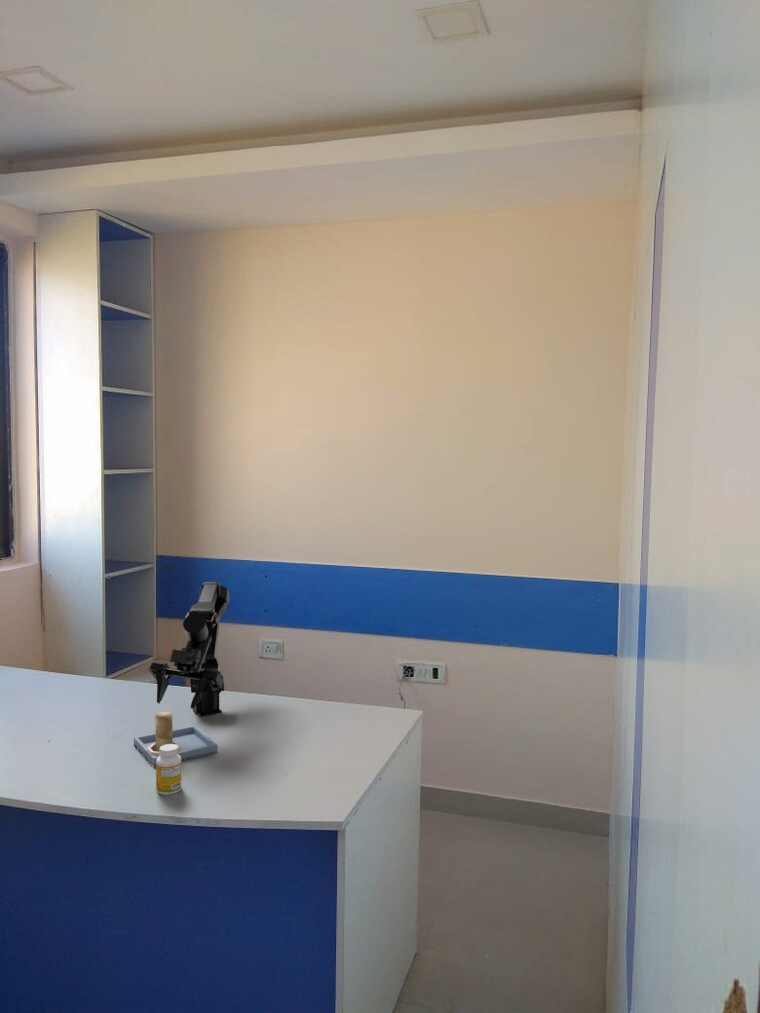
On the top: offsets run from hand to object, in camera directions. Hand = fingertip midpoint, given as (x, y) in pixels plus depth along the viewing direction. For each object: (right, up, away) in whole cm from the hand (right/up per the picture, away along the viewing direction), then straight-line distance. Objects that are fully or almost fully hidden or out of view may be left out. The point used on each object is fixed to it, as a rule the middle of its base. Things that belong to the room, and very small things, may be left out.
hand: (174, 705), depth 192 cm
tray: (0, -11, -1) cm, 11 cm away
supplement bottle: (+5, -13, -24) cm, 28 cm away
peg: (-1, -10, -6) cm, 12 cm away
